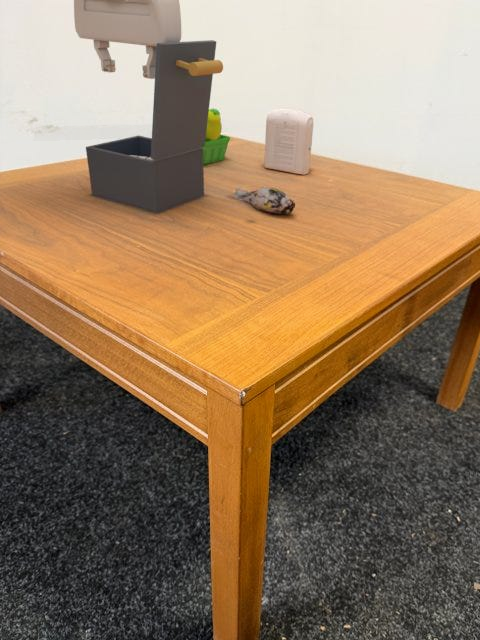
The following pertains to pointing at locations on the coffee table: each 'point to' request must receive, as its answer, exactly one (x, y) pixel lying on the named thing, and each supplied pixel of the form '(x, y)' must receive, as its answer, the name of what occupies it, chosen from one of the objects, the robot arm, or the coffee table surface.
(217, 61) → the lid
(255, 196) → the bird model
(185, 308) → the coffee table surface
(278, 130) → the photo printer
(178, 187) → the chest
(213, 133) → the fruit basket
